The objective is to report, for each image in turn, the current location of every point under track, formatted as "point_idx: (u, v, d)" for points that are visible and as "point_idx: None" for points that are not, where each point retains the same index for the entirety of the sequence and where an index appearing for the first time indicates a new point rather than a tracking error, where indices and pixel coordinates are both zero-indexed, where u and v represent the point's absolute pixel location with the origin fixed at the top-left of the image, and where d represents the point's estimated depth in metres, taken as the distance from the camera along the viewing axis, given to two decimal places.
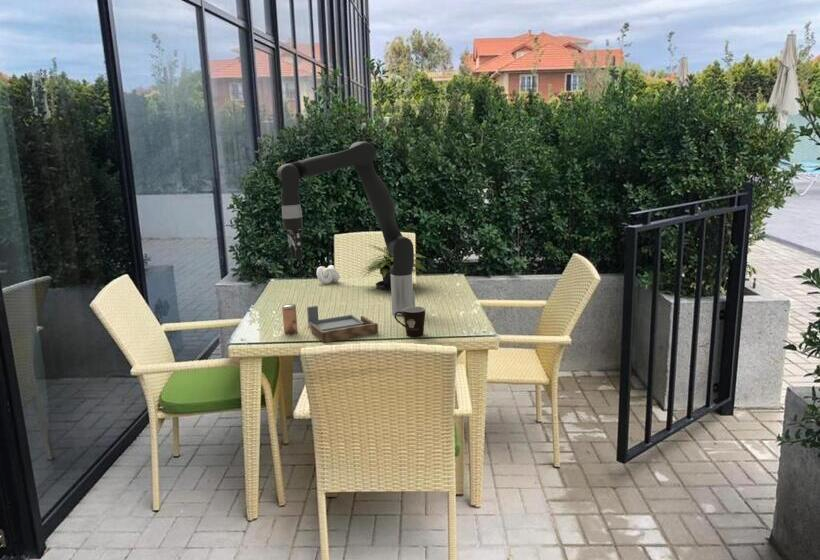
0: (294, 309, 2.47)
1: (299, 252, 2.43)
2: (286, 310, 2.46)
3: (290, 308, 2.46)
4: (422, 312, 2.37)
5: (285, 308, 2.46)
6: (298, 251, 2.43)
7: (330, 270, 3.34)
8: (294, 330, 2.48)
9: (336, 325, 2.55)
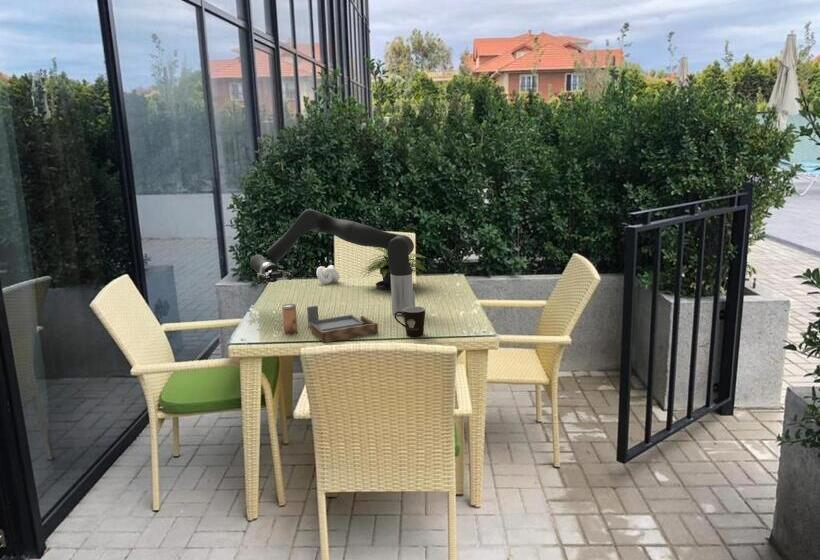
0: (294, 309, 2.47)
1: (265, 278, 2.56)
2: (286, 310, 2.46)
3: (290, 308, 2.46)
4: (422, 312, 2.37)
5: (285, 308, 2.46)
6: None
7: (330, 270, 3.34)
8: (294, 330, 2.48)
9: (336, 325, 2.55)
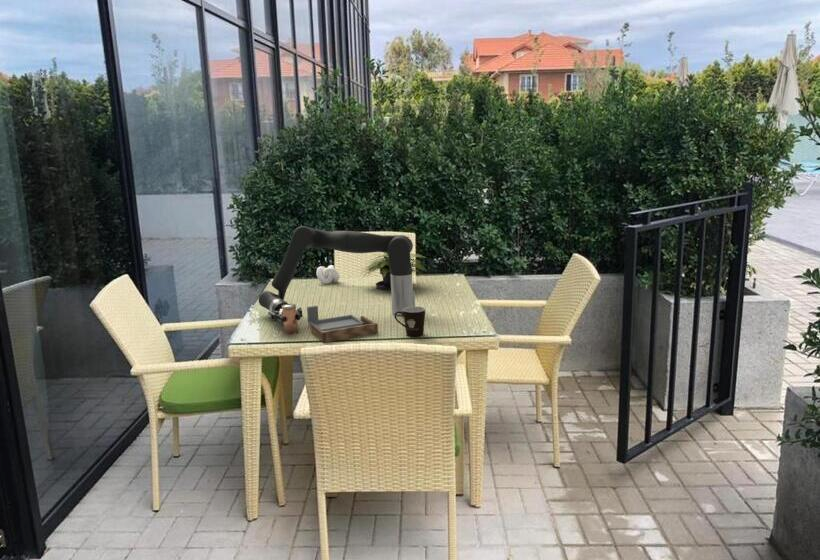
0: (294, 309, 2.47)
1: (279, 317, 2.48)
2: (286, 310, 2.46)
3: (290, 308, 2.46)
4: (422, 312, 2.37)
5: (285, 308, 2.46)
6: None
7: (330, 270, 3.34)
8: (294, 330, 2.48)
9: (336, 325, 2.55)
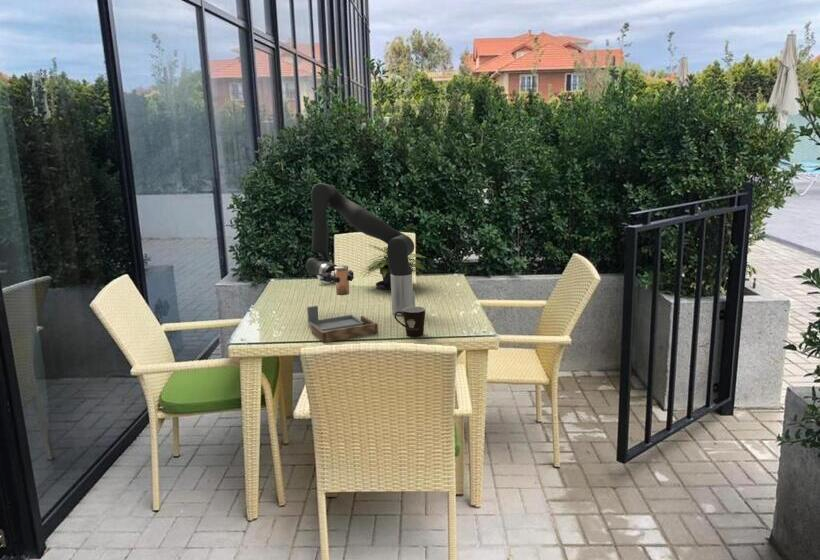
0: (347, 270, 2.51)
1: (332, 278, 2.51)
2: (339, 271, 2.49)
3: (343, 269, 2.49)
4: (422, 312, 2.37)
5: (338, 269, 2.49)
6: (332, 279, 2.51)
7: None
8: (346, 291, 2.52)
9: (336, 325, 2.55)
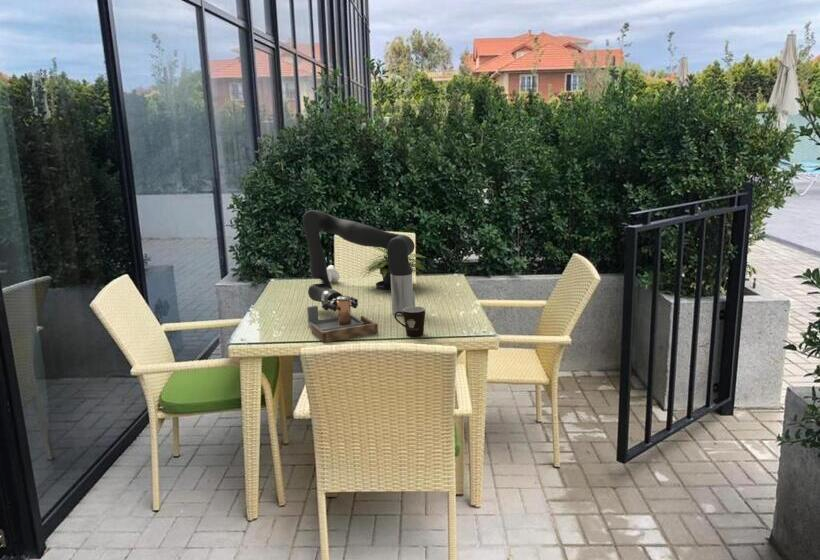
0: (348, 301, 2.54)
1: (330, 307, 2.54)
2: (341, 302, 2.52)
3: (345, 300, 2.52)
4: (422, 312, 2.37)
5: (340, 300, 2.52)
6: (330, 307, 2.54)
7: (330, 270, 3.34)
8: (348, 321, 2.55)
9: (336, 325, 2.55)
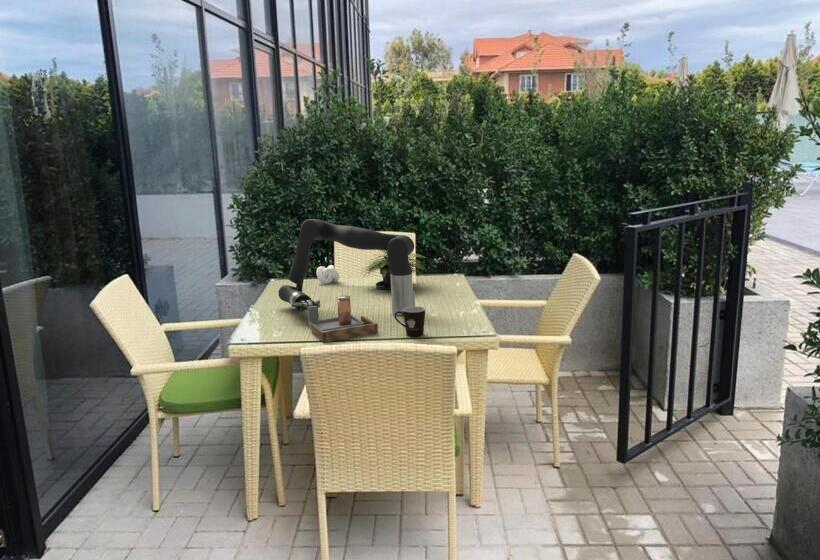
0: (348, 300, 2.54)
1: (306, 308, 2.60)
2: (341, 301, 2.53)
3: (345, 299, 2.52)
4: (422, 312, 2.37)
5: (340, 299, 2.52)
6: None
7: (330, 270, 3.34)
8: (348, 321, 2.54)
9: (336, 325, 2.54)
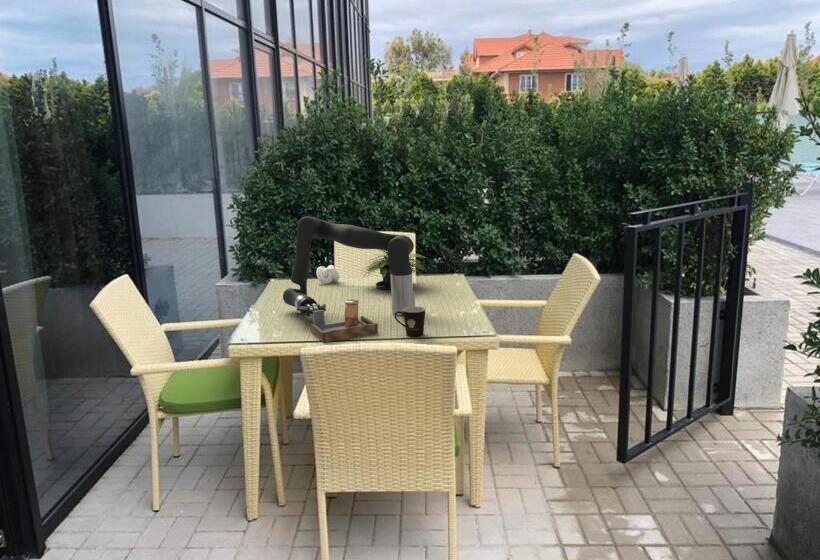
0: (356, 305, 2.46)
1: (312, 312, 2.53)
2: (348, 305, 2.45)
3: (352, 304, 2.45)
4: (422, 312, 2.37)
5: (347, 303, 2.45)
6: (312, 313, 2.54)
7: (330, 270, 3.34)
8: None
9: None
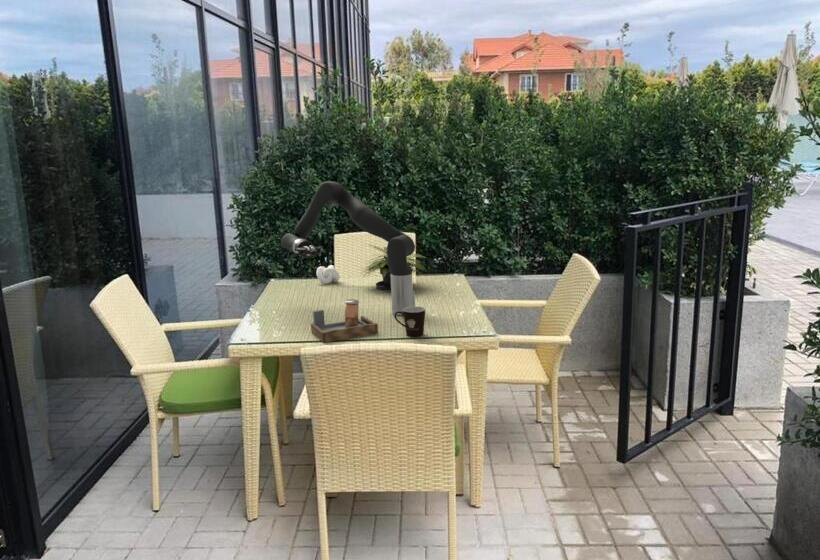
0: (356, 305, 2.46)
1: (309, 252, 2.66)
2: (347, 305, 2.45)
3: (351, 304, 2.45)
4: (422, 312, 2.37)
5: (347, 303, 2.45)
6: (309, 252, 2.66)
7: (330, 270, 3.34)
8: None
9: None
